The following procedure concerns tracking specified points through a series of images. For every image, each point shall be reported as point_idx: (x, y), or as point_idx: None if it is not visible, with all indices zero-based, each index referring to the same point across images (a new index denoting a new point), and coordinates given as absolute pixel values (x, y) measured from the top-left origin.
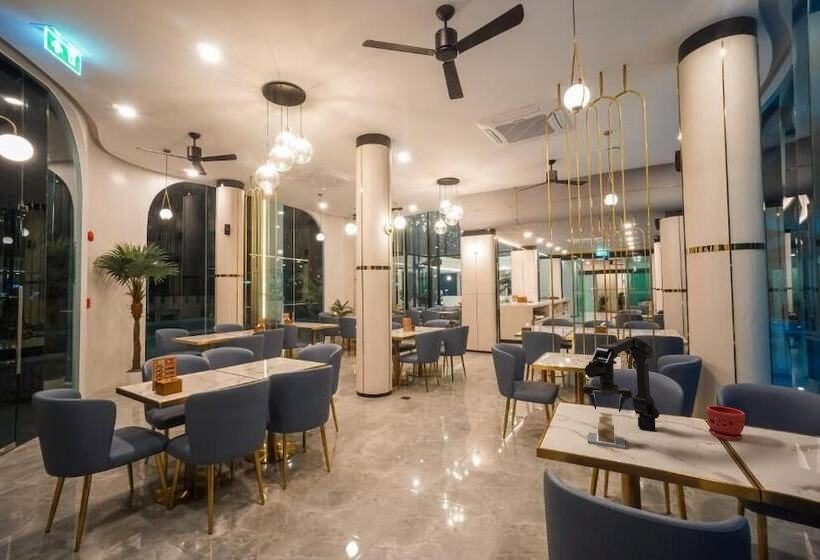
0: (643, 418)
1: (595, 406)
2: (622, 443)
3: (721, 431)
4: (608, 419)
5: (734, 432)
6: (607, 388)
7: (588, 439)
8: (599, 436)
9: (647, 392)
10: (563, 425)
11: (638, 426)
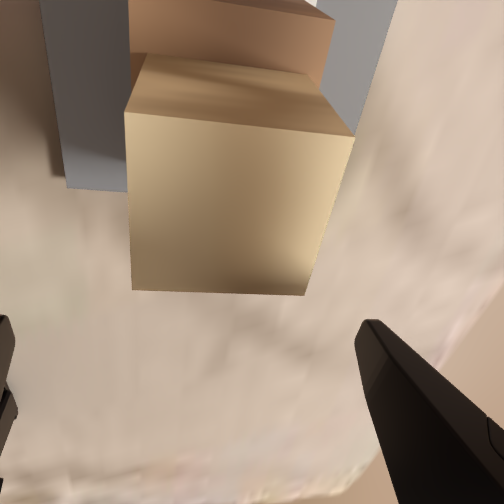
0: None
1: (399, 353)
2: (65, 16)
3: None
4: (198, 104)
5: None
6: None
7: (384, 24)
8: (299, 3)
9: None
10: (447, 291)
11: (8, 391)
